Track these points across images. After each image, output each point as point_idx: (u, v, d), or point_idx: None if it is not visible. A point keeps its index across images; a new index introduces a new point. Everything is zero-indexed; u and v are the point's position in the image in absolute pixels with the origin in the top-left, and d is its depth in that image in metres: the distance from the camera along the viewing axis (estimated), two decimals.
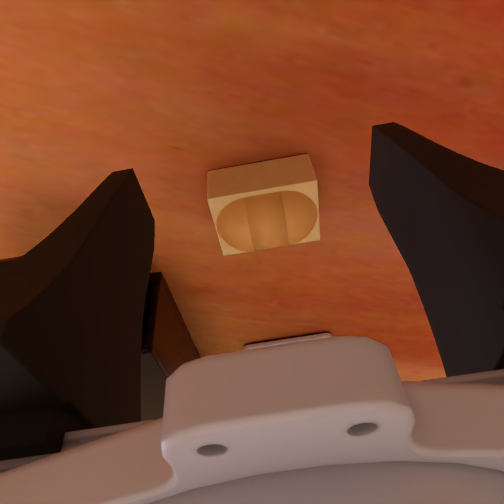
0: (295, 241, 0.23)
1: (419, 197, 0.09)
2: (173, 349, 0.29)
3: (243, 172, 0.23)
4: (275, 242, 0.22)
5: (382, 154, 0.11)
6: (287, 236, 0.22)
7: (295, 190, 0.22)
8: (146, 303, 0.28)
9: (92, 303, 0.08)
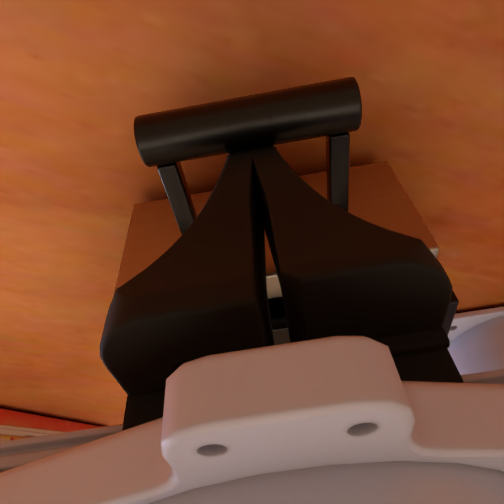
0: None
1: (269, 222, 0.09)
2: None
3: None
4: None
5: (255, 176, 0.11)
6: None
7: None
8: None
9: (259, 276, 0.08)
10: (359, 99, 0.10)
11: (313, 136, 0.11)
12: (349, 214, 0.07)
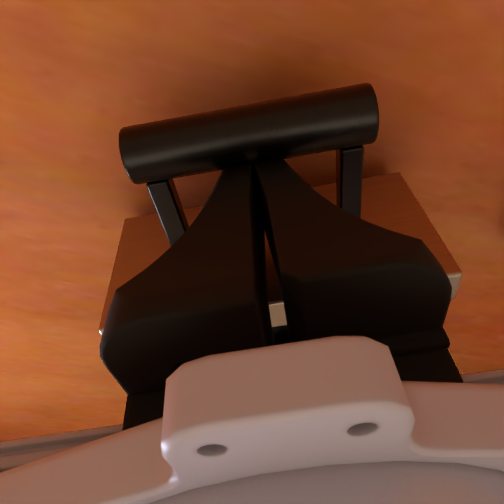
0: None
1: (269, 222, 0.09)
2: None
3: None
4: None
5: (255, 176, 0.11)
6: None
7: None
8: None
9: (259, 277, 0.08)
10: (376, 109, 0.09)
11: (323, 150, 0.10)
12: (349, 214, 0.07)
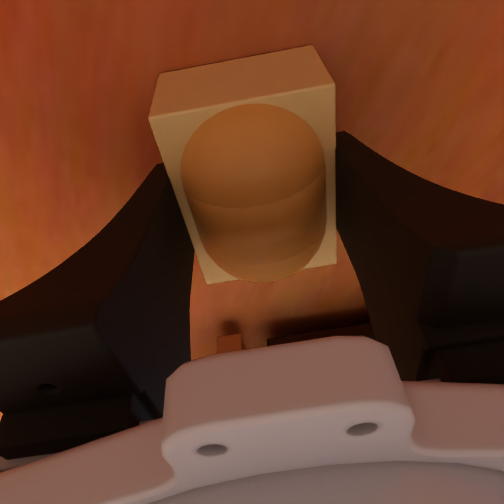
0: (291, 179, 0.09)
1: (359, 207, 0.09)
2: None
3: None
4: (283, 222, 0.10)
5: None
6: (265, 205, 0.10)
7: (180, 160, 0.10)
8: None
9: (154, 294, 0.08)
10: None
11: None
12: (464, 195, 0.07)
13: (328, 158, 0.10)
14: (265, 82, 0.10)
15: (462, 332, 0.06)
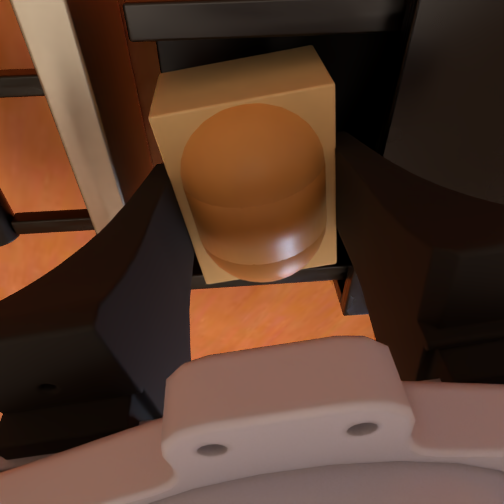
0: (291, 179, 0.09)
1: (359, 207, 0.09)
2: None
3: None
4: (283, 222, 0.10)
5: None
6: (265, 204, 0.10)
7: (179, 160, 0.10)
8: None
9: (154, 294, 0.08)
10: None
11: None
12: (464, 195, 0.07)
13: (328, 158, 0.10)
14: (265, 82, 0.10)
15: (462, 332, 0.06)
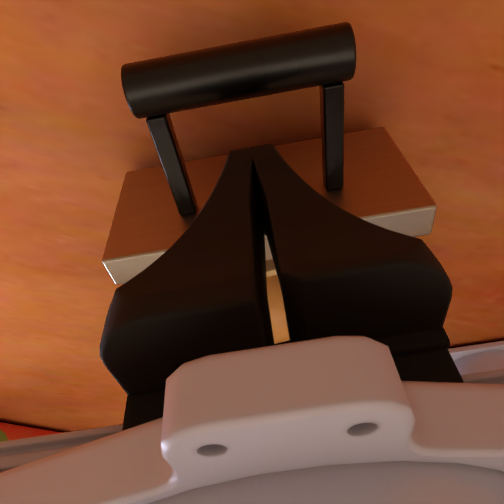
0: None
1: (269, 222, 0.09)
2: None
3: None
4: None
5: (255, 176, 0.11)
6: None
7: None
8: None
9: (260, 276, 0.08)
10: (353, 43, 0.10)
11: (306, 85, 0.11)
12: (349, 214, 0.07)
13: None
14: None
15: None
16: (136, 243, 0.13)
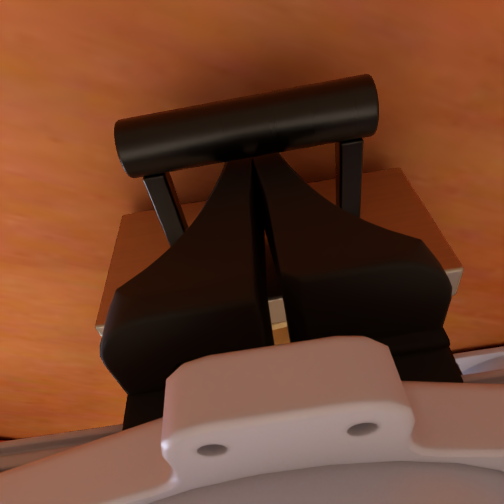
0: None
1: (269, 222, 0.09)
2: None
3: None
4: None
5: (255, 176, 0.11)
6: None
7: None
8: None
9: (260, 276, 0.08)
10: (376, 100, 0.09)
11: (322, 143, 0.10)
12: (349, 214, 0.07)
13: None
14: None
15: None
16: None
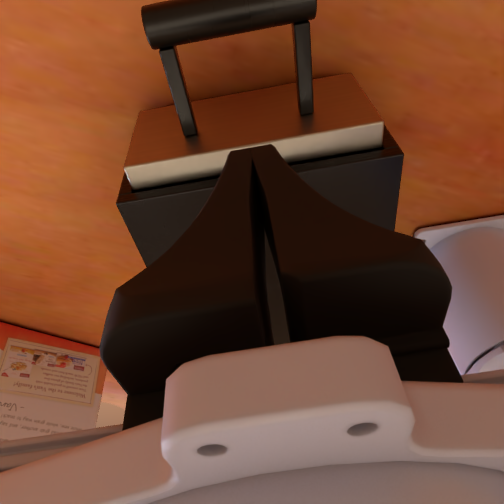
0: None
1: (269, 222, 0.09)
2: None
3: None
4: None
5: (255, 176, 0.11)
6: None
7: None
8: None
9: (259, 276, 0.08)
10: None
11: (280, 21, 0.14)
12: (349, 214, 0.07)
13: None
14: None
15: None
16: (150, 155, 0.16)
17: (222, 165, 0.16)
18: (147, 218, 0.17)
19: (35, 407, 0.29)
